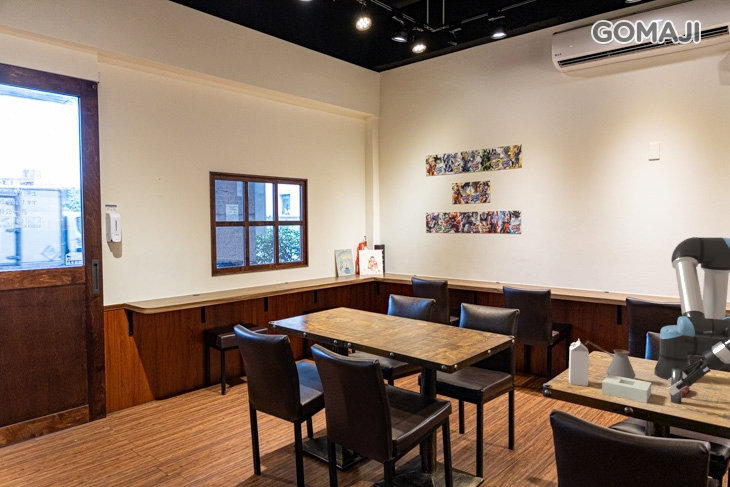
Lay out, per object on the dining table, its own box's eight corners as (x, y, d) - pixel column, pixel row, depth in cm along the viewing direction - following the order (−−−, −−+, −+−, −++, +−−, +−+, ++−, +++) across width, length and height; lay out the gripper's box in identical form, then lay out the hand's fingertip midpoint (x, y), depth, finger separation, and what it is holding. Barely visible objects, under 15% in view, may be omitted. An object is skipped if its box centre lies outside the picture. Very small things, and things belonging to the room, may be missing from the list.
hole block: (601, 393, 196) (602, 381, 196) (608, 385, 206) (608, 374, 205) (646, 403, 186) (646, 390, 186) (651, 394, 196) (651, 382, 195)
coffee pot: (638, 379, 214) (639, 346, 214) (630, 385, 206) (631, 351, 205) (589, 368, 229) (590, 338, 229) (580, 374, 221) (581, 342, 220)
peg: (674, 399, 190) (675, 367, 189) (683, 403, 187) (684, 370, 186) (668, 401, 188) (669, 369, 188) (677, 404, 185) (679, 371, 185)
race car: (683, 399, 191) (683, 389, 191) (667, 395, 195) (667, 386, 195) (691, 391, 200) (692, 382, 200) (676, 388, 204) (677, 378, 204)
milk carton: (585, 381, 211) (587, 339, 210) (587, 386, 205) (589, 343, 204) (568, 379, 214) (569, 337, 213) (569, 384, 207) (571, 341, 206)
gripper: (729, 373, 168) (677, 405, 177) (725, 356, 188) (678, 386, 197) (711, 355, 170) (661, 388, 179) (709, 341, 191) (664, 371, 200)
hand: (670, 387), depth 188 cm, fingers open, 13 cm apart
